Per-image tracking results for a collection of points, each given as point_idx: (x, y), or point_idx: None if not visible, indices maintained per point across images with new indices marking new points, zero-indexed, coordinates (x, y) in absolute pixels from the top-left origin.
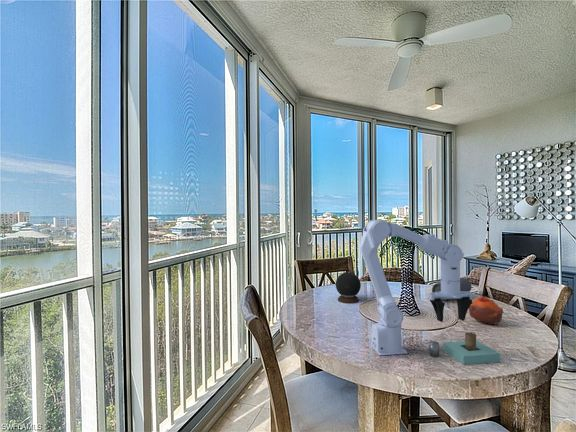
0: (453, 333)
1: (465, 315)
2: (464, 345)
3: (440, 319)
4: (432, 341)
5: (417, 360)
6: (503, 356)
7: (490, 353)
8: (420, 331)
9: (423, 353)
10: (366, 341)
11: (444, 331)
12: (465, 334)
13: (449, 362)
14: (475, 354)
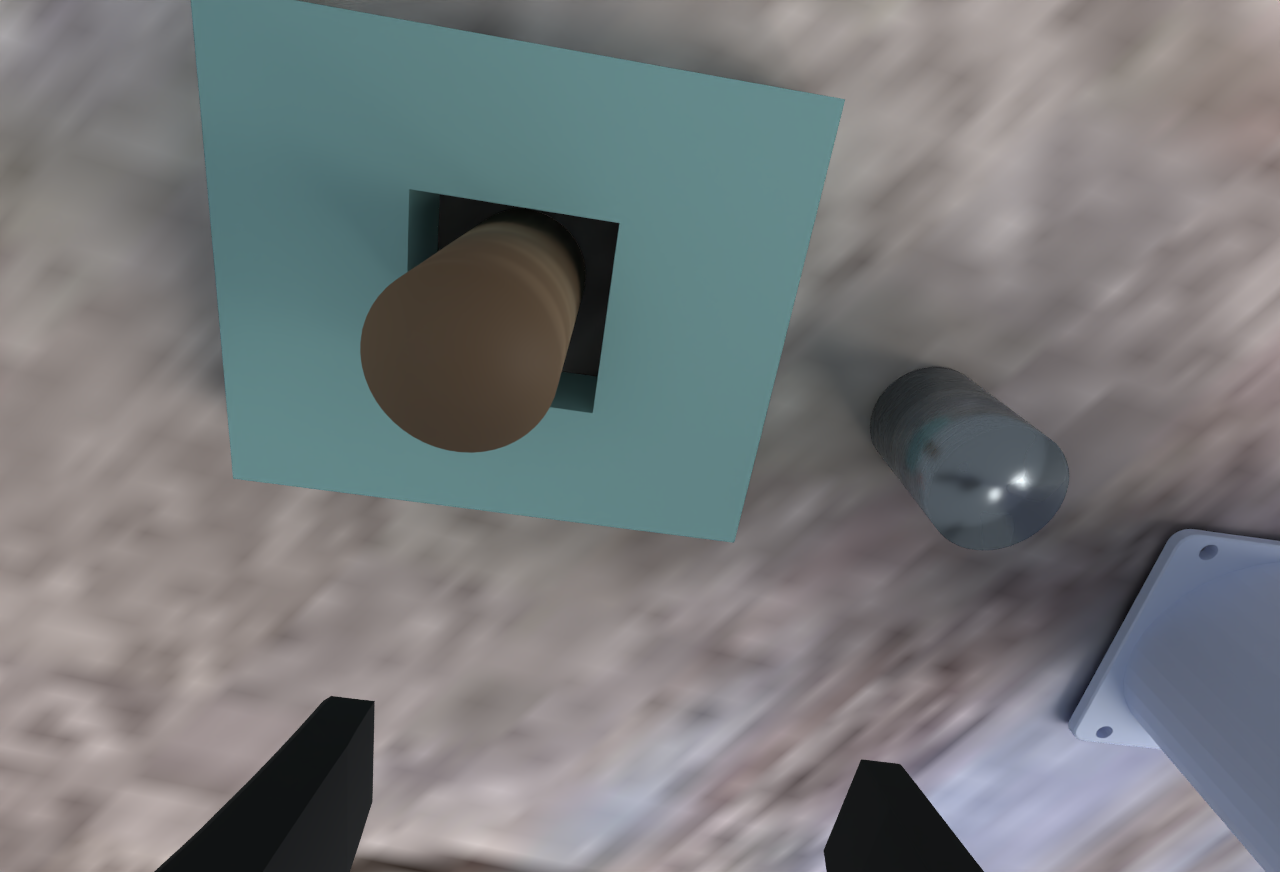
0: None
1: (251, 792)
2: None
3: (927, 817)
4: (975, 532)
5: (1214, 372)
6: (97, 121)
7: (352, 35)
8: (600, 864)
9: None
10: None
11: None
12: (554, 395)
13: (925, 213)
14: (615, 89)
